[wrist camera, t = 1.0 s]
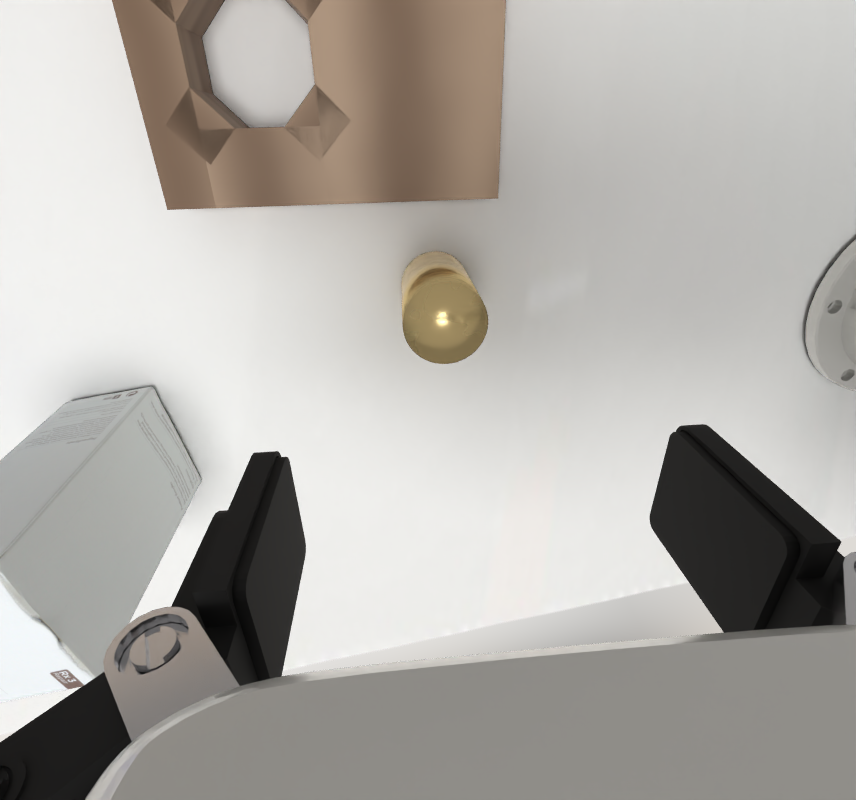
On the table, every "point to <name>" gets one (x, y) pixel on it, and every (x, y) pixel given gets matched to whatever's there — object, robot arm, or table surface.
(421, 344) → the brass cylinder
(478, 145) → the jig
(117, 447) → the skincare box
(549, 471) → the table surface
